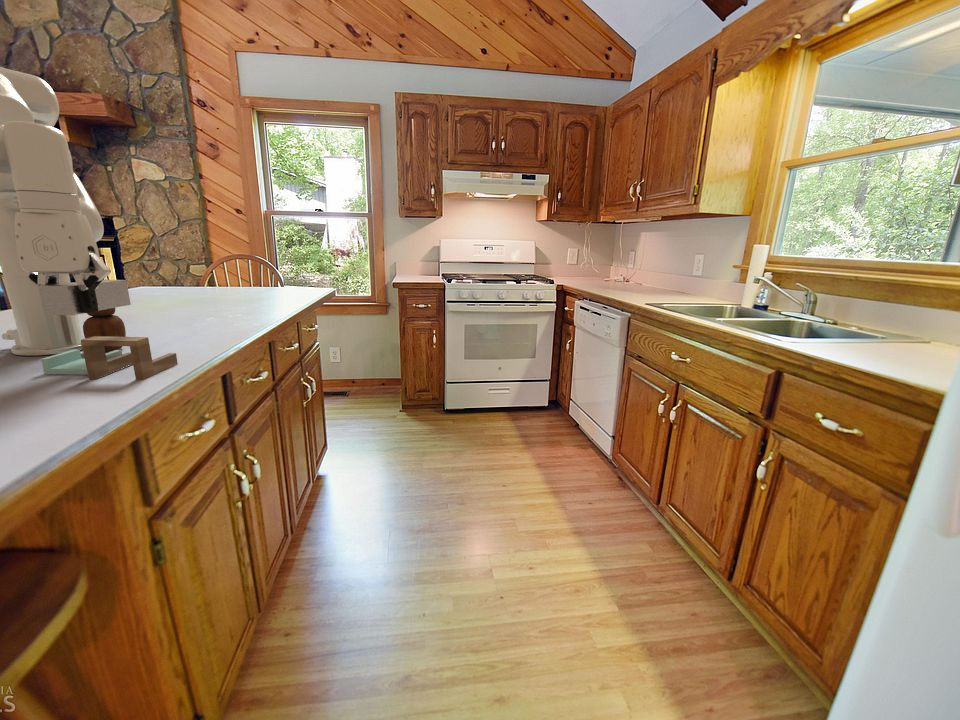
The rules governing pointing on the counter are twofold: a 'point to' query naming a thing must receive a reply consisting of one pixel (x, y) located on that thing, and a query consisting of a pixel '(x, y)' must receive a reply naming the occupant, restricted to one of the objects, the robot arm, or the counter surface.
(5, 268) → the robot arm
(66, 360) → the cradle
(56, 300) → the bar
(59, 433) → the counter surface
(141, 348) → the brown wooden stepped stand
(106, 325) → the wooden figurine
